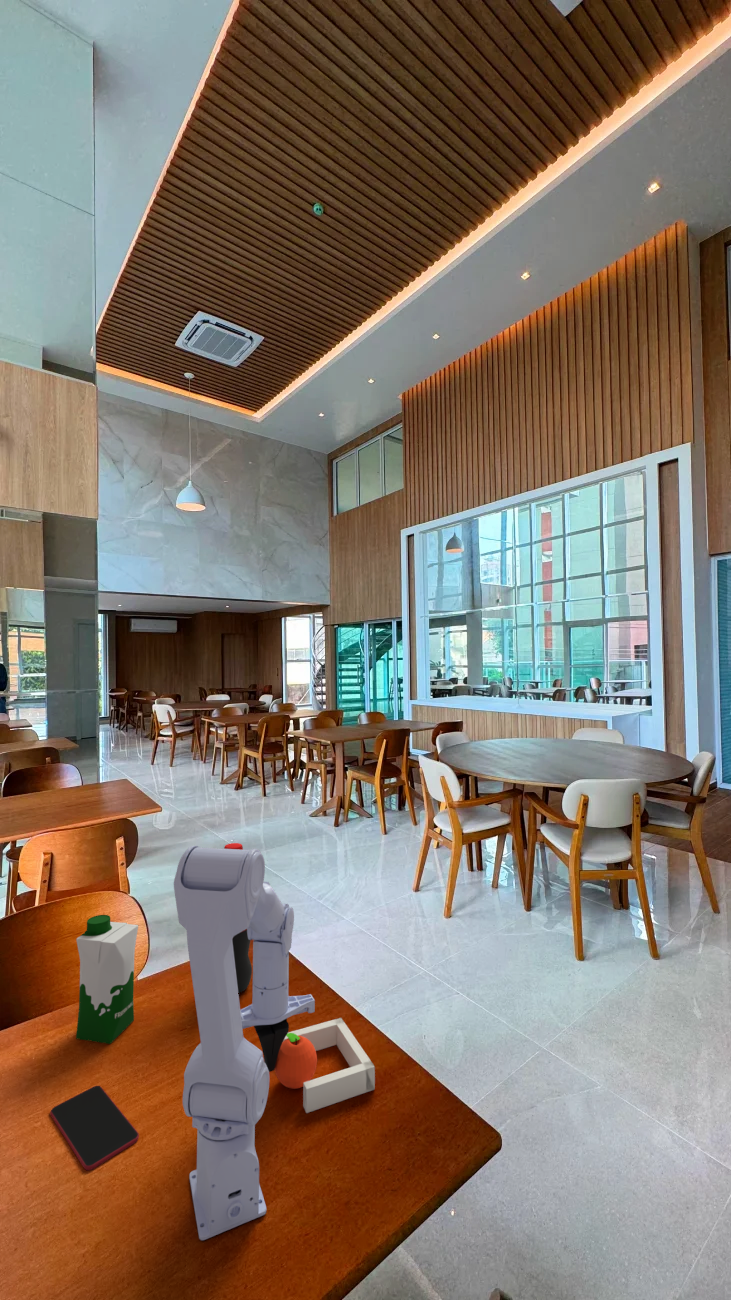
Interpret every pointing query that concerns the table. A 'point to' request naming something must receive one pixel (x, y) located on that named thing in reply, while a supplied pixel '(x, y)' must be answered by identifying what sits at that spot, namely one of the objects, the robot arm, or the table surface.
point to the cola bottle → (241, 948)
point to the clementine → (295, 1061)
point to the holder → (342, 1081)
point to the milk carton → (106, 979)
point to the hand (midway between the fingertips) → (269, 1067)
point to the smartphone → (94, 1127)
